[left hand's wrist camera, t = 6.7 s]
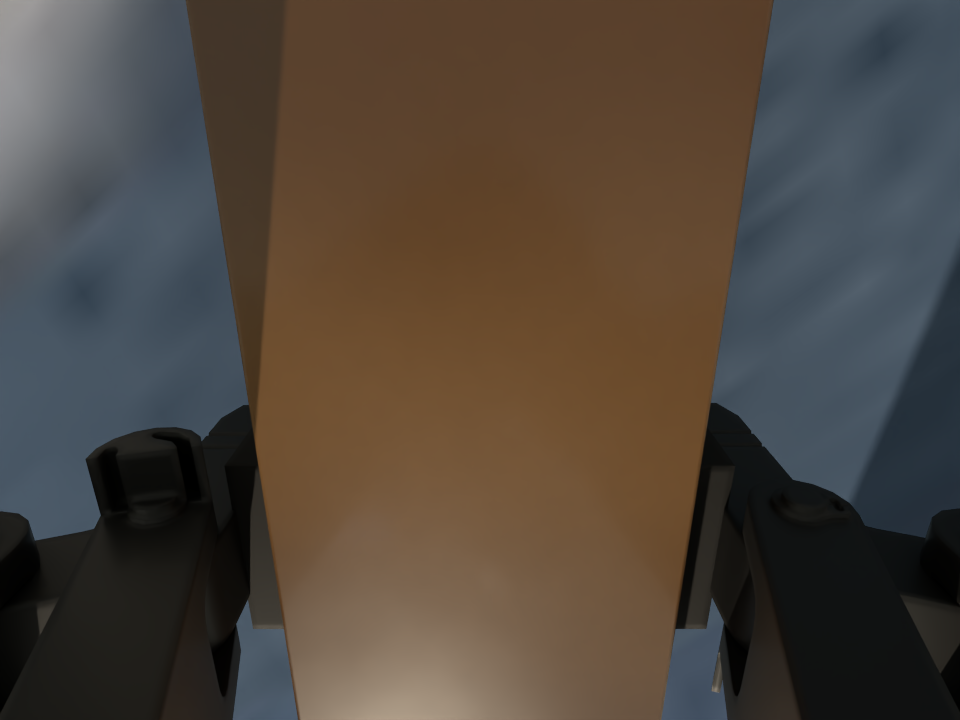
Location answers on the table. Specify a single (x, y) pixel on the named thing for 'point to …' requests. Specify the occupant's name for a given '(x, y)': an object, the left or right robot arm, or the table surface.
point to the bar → (479, 331)
